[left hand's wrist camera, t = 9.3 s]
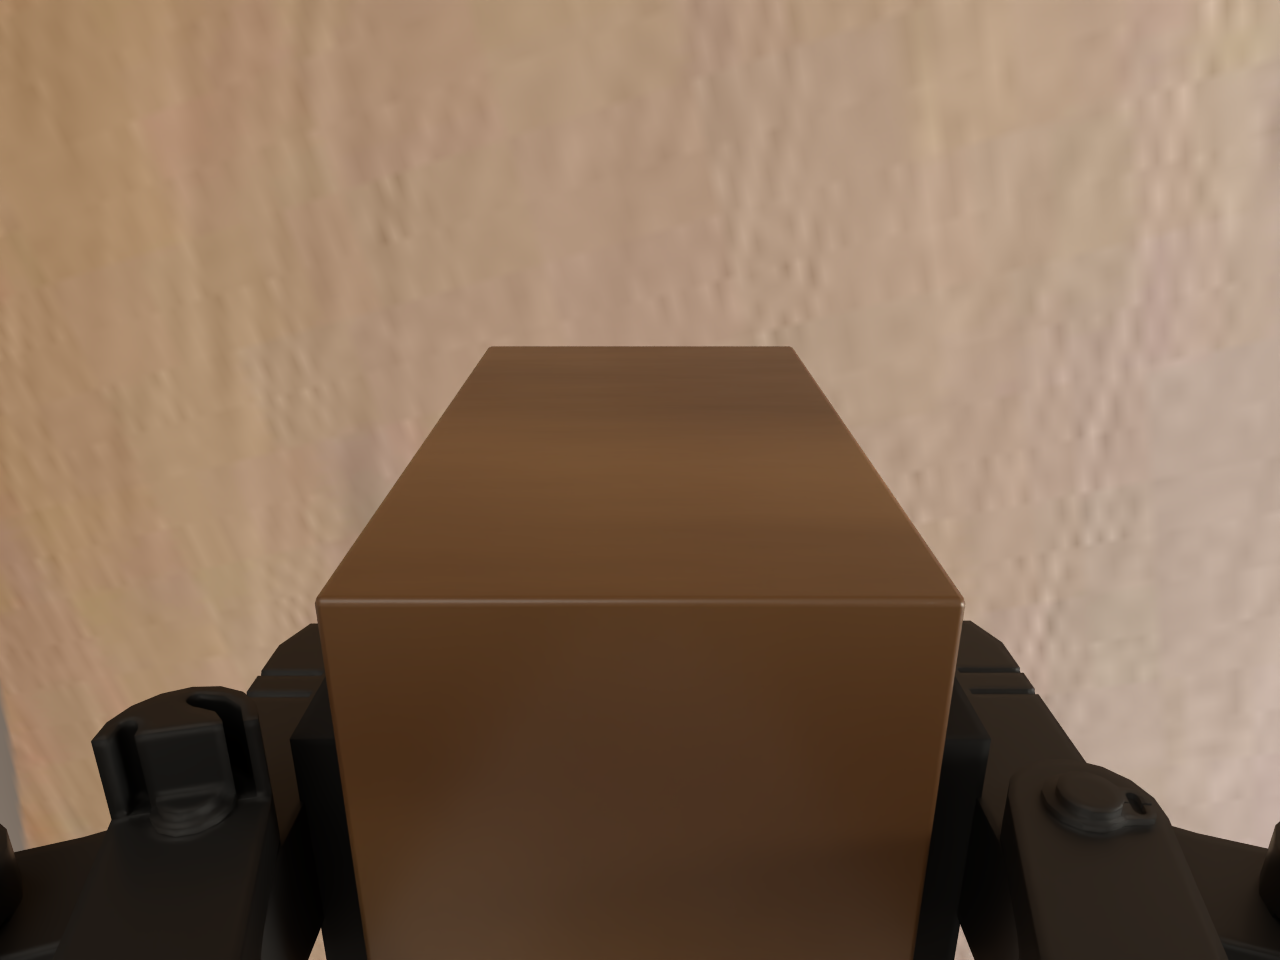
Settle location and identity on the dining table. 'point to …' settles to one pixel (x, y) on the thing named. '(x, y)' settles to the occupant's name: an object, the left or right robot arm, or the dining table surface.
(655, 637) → the bar
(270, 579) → the dining table surface
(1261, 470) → the dining table surface
